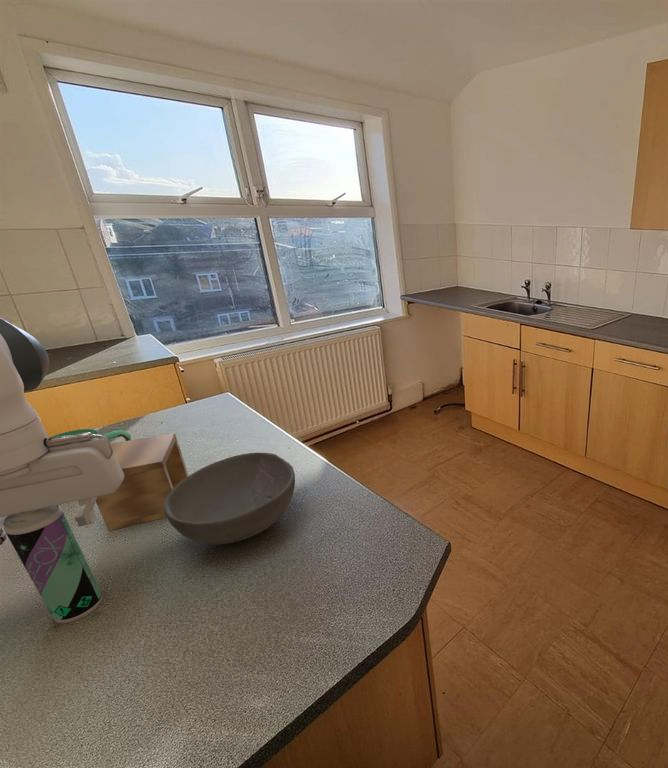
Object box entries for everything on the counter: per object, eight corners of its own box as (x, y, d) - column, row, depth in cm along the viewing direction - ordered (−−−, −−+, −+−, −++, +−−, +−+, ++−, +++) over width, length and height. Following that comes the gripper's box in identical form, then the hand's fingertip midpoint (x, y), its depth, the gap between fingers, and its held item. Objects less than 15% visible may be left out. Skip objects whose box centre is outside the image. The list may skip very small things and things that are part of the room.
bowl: (151, 548, 76) (133, 502, 72) (251, 484, 94) (241, 444, 90) (234, 581, 70) (219, 532, 66) (325, 505, 88) (317, 464, 84)
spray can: (52, 607, 65) (-7, 499, 57) (100, 586, 68) (51, 481, 61) (55, 630, 61) (-8, 518, 54) (105, 607, 65) (53, 499, 57)
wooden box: (108, 530, 80) (84, 475, 75) (127, 494, 90) (107, 443, 85) (180, 514, 84) (161, 461, 80) (190, 481, 94) (174, 432, 90)
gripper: (111, 419, 61) (143, 499, 66) (-102, 453, 53) (-46, 541, 58) (96, 440, 56) (131, 524, 61) (-144, 481, 47) (-78, 574, 53)
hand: (43, 532), depth 60 cm, fingers open, 8 cm apart
